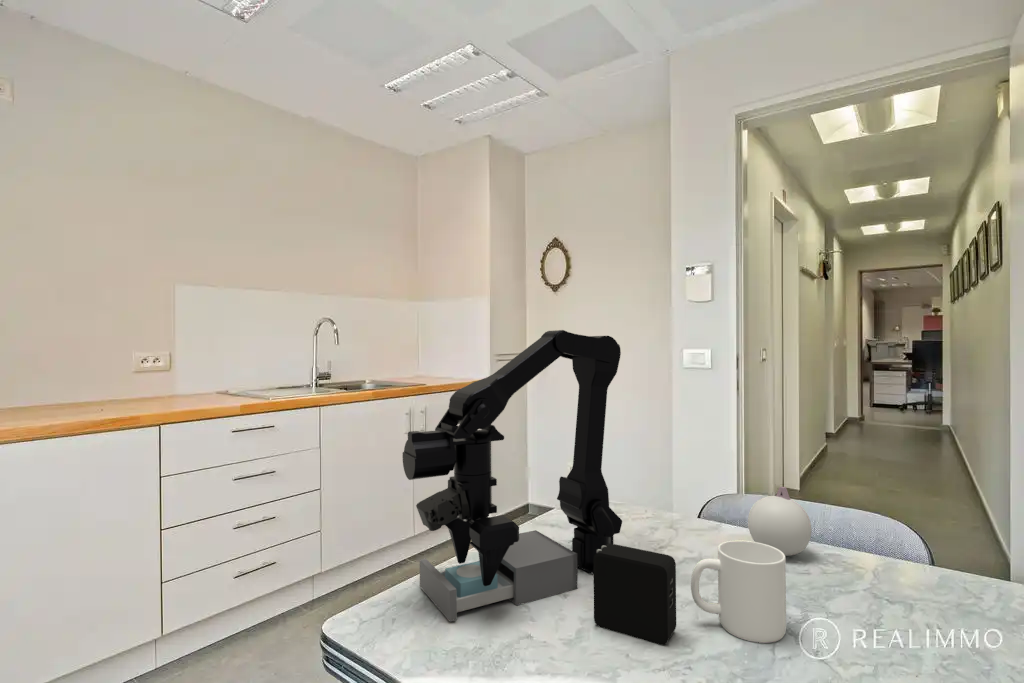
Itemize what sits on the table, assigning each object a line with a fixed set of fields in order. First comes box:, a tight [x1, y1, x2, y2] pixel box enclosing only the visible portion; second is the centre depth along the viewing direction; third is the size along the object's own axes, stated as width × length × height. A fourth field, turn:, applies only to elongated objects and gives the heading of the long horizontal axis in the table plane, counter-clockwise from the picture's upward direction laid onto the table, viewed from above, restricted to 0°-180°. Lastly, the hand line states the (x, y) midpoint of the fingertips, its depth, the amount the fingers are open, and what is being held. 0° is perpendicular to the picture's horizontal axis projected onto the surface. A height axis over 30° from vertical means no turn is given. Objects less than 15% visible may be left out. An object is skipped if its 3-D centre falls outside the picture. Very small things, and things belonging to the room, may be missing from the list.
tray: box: [419, 558, 514, 622], centre depth 81 cm, size 11×12×4 cm
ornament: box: [747, 486, 812, 557], centre depth 97 cm, size 10×10×12 cm
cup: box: [690, 539, 787, 644], centre depth 72 cm, size 8×12×10 cm
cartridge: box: [444, 560, 498, 598], centre depth 81 cm, size 6×6×3 cm
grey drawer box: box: [498, 530, 579, 606], centre depth 86 cm, size 11×12×5 cm
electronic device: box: [593, 543, 677, 646], centre depth 71 cm, size 4×10×10 cm, turn 58°
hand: (473, 573), depth 81 cm, fingers open, 9 cm apart
